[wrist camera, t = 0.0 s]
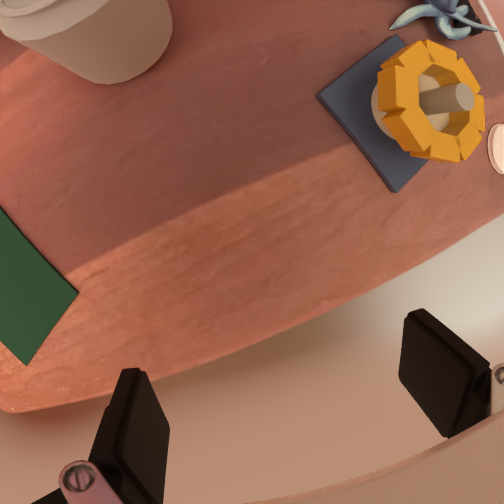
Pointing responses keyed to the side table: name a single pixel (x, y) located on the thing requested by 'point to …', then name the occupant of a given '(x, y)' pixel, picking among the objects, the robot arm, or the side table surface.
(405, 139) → the top ring
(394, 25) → the figurine
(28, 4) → the can
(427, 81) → the stack post
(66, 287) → the mat
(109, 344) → the side table surface
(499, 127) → the chess piece
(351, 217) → the side table surface
